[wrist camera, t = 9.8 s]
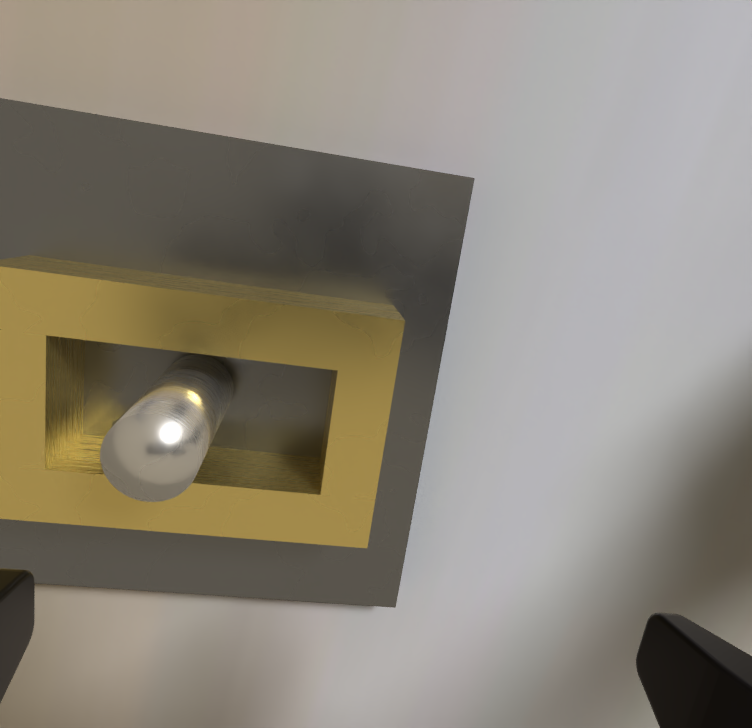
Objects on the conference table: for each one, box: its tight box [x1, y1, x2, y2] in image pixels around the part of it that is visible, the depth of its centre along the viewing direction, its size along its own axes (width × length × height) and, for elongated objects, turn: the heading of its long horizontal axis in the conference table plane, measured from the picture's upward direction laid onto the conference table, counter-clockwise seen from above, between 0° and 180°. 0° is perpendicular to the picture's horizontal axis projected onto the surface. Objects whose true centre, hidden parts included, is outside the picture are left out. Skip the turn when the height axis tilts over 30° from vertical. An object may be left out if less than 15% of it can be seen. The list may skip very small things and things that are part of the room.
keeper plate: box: [0, 98, 474, 607], centre depth 15 cm, size 14×14×6 cm
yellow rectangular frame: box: [0, 255, 405, 548], centre depth 16 cm, size 10×6×2 cm, turn 81°
